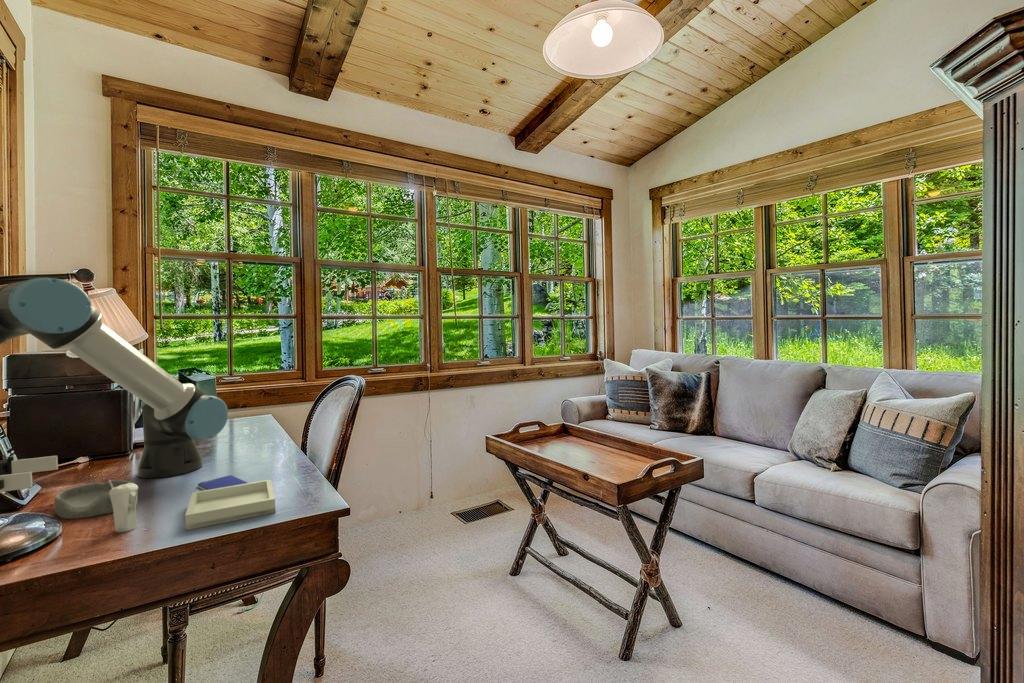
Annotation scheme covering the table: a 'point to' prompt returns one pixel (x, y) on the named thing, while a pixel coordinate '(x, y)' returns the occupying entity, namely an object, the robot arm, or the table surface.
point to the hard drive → (221, 482)
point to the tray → (230, 504)
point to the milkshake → (124, 506)
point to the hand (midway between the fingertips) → (45, 470)
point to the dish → (86, 500)
